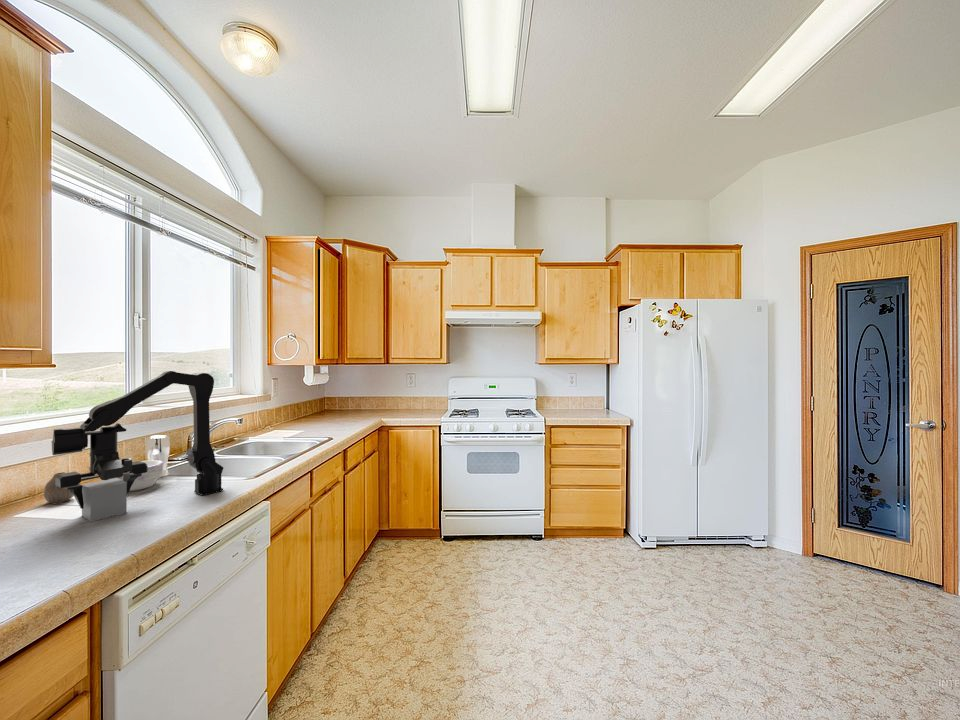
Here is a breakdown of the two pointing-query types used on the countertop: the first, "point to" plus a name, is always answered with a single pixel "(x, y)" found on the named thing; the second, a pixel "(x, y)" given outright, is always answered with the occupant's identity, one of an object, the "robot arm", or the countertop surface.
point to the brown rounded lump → (56, 492)
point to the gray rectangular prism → (104, 499)
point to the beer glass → (159, 450)
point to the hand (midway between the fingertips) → (103, 503)
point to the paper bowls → (147, 475)
